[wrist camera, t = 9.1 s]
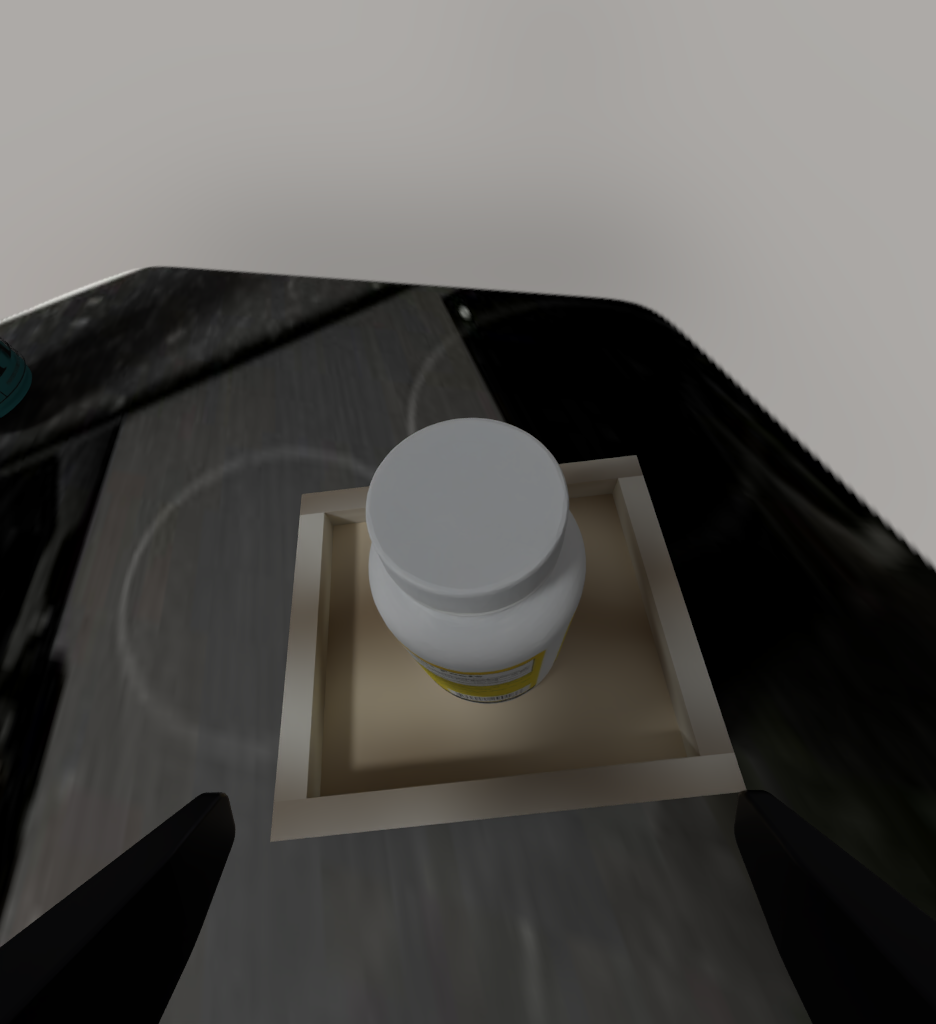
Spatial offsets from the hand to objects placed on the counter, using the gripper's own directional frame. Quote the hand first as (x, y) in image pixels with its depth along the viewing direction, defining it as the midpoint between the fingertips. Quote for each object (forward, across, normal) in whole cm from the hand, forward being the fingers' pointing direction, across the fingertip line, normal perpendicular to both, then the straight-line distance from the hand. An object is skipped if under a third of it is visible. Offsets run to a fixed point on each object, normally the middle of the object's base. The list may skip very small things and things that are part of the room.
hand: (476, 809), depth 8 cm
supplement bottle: (+9, 0, +2) cm, 10 cm away
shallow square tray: (+12, 0, +4) cm, 13 cm away
